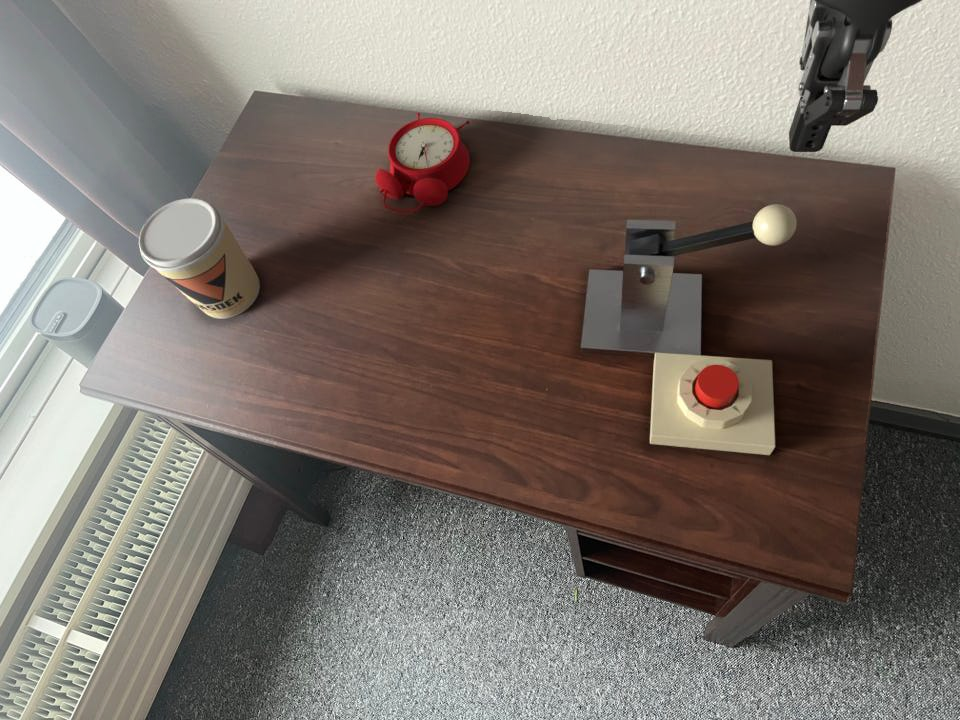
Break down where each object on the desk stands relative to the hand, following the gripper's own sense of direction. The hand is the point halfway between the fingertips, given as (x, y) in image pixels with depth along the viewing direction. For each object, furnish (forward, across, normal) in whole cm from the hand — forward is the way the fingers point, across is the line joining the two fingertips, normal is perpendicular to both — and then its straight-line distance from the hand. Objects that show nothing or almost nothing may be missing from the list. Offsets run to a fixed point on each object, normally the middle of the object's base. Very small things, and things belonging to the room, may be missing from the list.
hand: (804, 144), depth 49 cm
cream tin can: (+25, 0, +59) cm, 64 cm away
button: (+21, -10, +3) cm, 24 cm away
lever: (+13, 0, +4) cm, 14 cm away
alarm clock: (+25, +19, +38) cm, 49 cm away
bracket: (+25, 0, +10) cm, 27 cm away
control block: (+25, -10, +3) cm, 27 cm away
